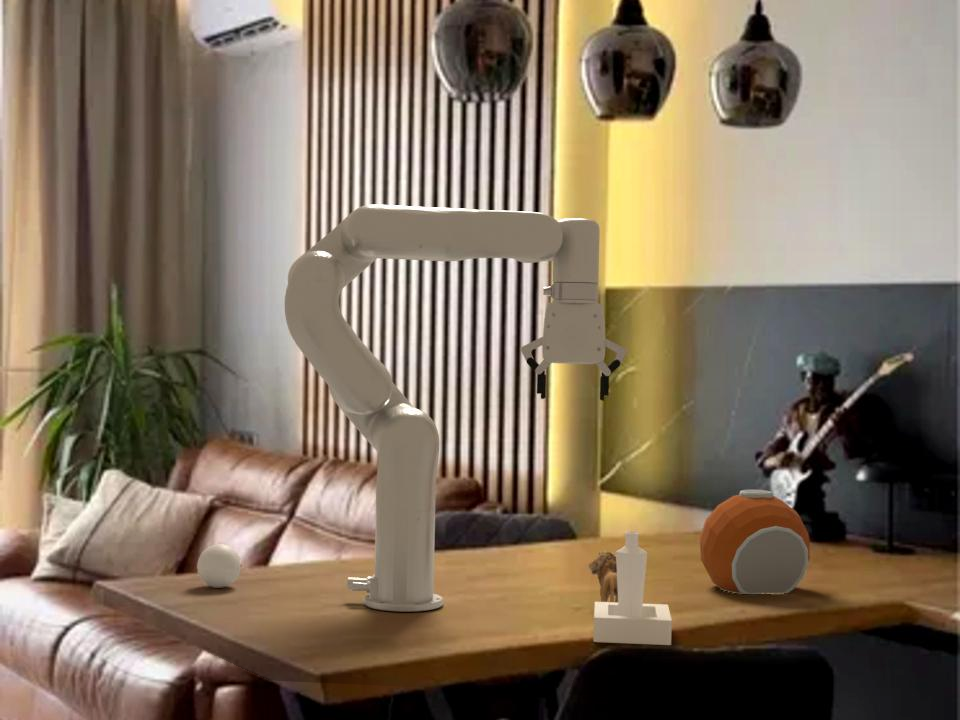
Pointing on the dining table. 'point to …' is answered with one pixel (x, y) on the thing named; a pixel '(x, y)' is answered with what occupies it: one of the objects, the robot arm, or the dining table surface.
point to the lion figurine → (606, 575)
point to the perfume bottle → (631, 576)
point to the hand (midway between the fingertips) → (572, 399)
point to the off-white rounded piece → (219, 565)
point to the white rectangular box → (632, 625)
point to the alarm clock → (755, 544)
